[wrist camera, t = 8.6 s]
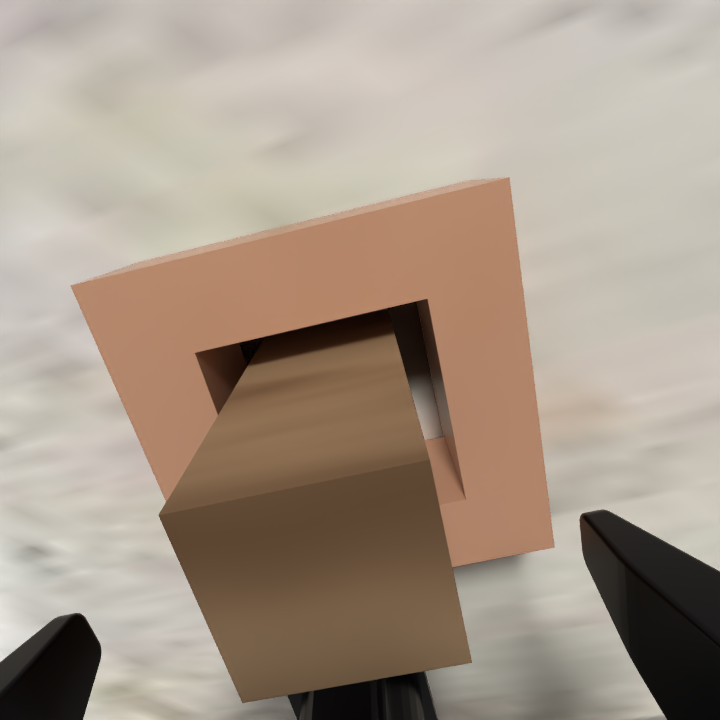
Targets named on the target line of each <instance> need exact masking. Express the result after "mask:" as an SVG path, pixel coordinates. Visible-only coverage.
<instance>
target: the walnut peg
mask: <svg viewBox="0 0 720 720" xmlns="http://www.w3.org/2000/svg"><path fill="white" fill-rule="evenodd" d="M159 517H160V520H161V522H162V524H163V526H164V529H165V531H166V533H167V535H168V537H169V540H170V542H171V544H172V546H173V549H174V551H175V553H176V555H177V558H178V560H179V562H180V564H181V567H182V569H183V571H184V573H185V575H186V578H187V580H188V582H189V584H190V587H191V589H192V591H193V593H194V596H195V598H196V600H197V602H198V605H199V607H200V609H201V611H202V613H203V616H204V618H205V620H206V622H207V625H208V627H209V629H210V631H211V634H212V636H213V638H214V640H215V643H216V645H217V647H218V649H219V652H220V654H221V656H222V658H223V660H224V663H225V665H226V667H227V669H228V672H229V674H230V676H231V678H232V681H233V683H234V685H235V687H236V690H237V692H238V694H239V696H240V698H241V701H242V703H246V702H251V701H257V700H263V699H268V698H274V697H280V696H285V695H291V694H297V693H302V692H308V691H314V690H319V689H325V688H331V687H336V686H342V685H348V684H353V683H359V682H365V681H370V680H376V679H382V678H387V677H393V676H399V675H404V674H410V673H416V672H421V671H427V670H433V669H438V668H444V667H450V666H455V665H461V664H467V663H472V660H471V655H470V651H469V646H468V641H467V636H466V631H465V627H464V622H463V617H462V612H461V607H460V602H459V598H458V593H457V588H456V583H455V578H454V573H453V569H452V564H451V559H450V554H449V549H448V545H447V540H446V535H445V530H444V525H443V520H442V516H441V511H440V506H439V501H438V496H437V491H436V487H435V482H434V477H433V472H432V467H431V463H430V458H429V455H428V451H427V447H426V444H425V440H424V437H423V433H422V430H421V426H420V423H419V419H418V415H417V412H416V408H415V405H414V401H413V398H412V394H411V390H410V387H409V383H408V380H407V376H406V373H405V369H404V365H403V362H402V358H401V355H400V351H399V348H398V344H397V341H396V337H395V333H394V330H393V326H392V323H391V319H390V316H389V312H388V309H386V310H381V311H377V312H372V313H368V314H363V315H359V316H355V317H350V318H346V319H341V320H337V321H333V322H328V323H324V324H319V325H315V326H311V327H306V328H302V329H297V330H293V331H288V332H284V333H280V334H275V335H271V336H266V337H265V338H264V339H263V341H262V343H261V344H260V346H259V348H258V349H257V351H256V353H255V354H254V356H253V358H252V359H251V361H250V363H249V365H248V366H247V368H246V370H245V371H244V373H243V375H242V376H241V378H240V380H239V381H238V383H237V385H236V386H235V388H234V390H233V391H232V393H231V395H230V396H229V398H228V400H227V401H226V403H225V405H224V406H223V408H222V410H221V411H220V413H219V415H218V416H217V418H216V420H215V421H214V423H213V425H212V426H211V428H210V430H209V431H208V433H207V435H206V437H205V438H204V440H203V442H202V443H201V445H200V447H199V448H198V450H197V452H196V453H195V455H194V457H193V458H192V460H191V462H190V463H189V465H188V467H187V468H186V470H185V472H184V473H183V475H182V477H181V478H180V480H179V482H178V483H177V485H176V487H175V488H174V490H173V492H172V493H171V495H170V497H169V498H168V500H167V502H166V503H165V505H164V507H163V509H162V510H161V512H160V514H159Z"/></svg>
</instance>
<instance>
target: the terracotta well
mask: <svg viewBox="0 0 720 720" xmlns="http://www.w3.org/2000/svg"><path fill="white" fill-rule="evenodd" d="M71 288H72V290H73V292H74V295H75V297H76V299H77V301H78V304H79V306H80V308H81V310H82V313H83V315H84V317H85V319H86V322H87V324H88V326H89V328H90V331H91V333H92V335H93V337H94V340H95V342H96V344H97V346H98V349H99V351H100V353H101V356H102V358H103V360H104V362H105V365H106V367H107V369H108V371H109V374H110V376H111V378H112V380H113V383H114V385H115V387H116V389H117V392H118V394H119V396H120V398H121V401H122V403H123V405H124V407H125V410H126V412H127V414H128V416H129V419H130V421H131V423H132V425H133V428H134V430H135V432H136V435H137V437H138V439H139V441H140V444H141V446H142V448H143V450H144V453H145V455H146V457H147V459H148V462H149V464H150V466H151V468H152V471H153V473H154V475H155V477H156V480H157V482H158V484H159V486H160V489H161V491H162V493H163V495H164V498H165V500H166V502H167V500H168V498H169V497H170V495H171V493H172V492H173V490H174V488H175V487H176V485H177V483H178V482H179V480H180V478H181V477H182V475H183V473H184V472H185V470H186V468H187V467H188V465H189V463H190V462H191V460H192V458H193V457H194V455H195V453H196V452H197V450H198V448H199V447H200V445H201V443H202V442H203V440H204V438H205V437H206V435H207V433H208V431H209V430H210V428H211V426H212V425H213V423H214V421H215V420H216V418H217V416H218V415H219V413H220V411H221V410H222V408H223V406H224V405H225V403H226V401H227V400H228V398H229V396H230V395H231V393H232V391H233V390H234V388H235V386H236V385H237V383H238V381H239V380H240V378H241V376H242V375H243V373H244V371H245V370H246V368H247V365H246V362H245V359H244V356H243V353H242V350H241V347H240V344H239V342H243V341H248V340H252V339H256V338H261V337H265V336H269V335H273V334H278V333H282V332H286V331H291V330H295V329H299V328H303V327H308V326H312V325H316V324H321V323H325V322H329V321H334V320H338V319H342V318H346V317H351V316H355V315H359V314H364V313H368V312H372V311H377V310H381V309H385V308H389V307H394V306H398V305H402V304H407V303H411V302H415V301H416V302H417V307H418V312H419V317H420V322H421V327H422V332H423V337H424V342H425V347H426V352H427V357H428V362H429V367H430V372H431V377H432V382H433V387H434V392H435V397H436V402H437V407H438V412H439V417H440V422H441V427H442V432H443V437H440V438H435V439H430V440H426V441H425V444H426V447H427V451H428V455H429V458H430V463H431V467H432V472H433V477H434V482H435V487H436V491H437V496H438V501H439V506H440V511H441V516H442V520H443V525H444V530H445V535H446V540H447V545H448V549H449V554H450V559H451V564H452V567H456V566H461V565H466V564H471V563H477V562H482V561H487V560H492V559H497V558H502V557H507V556H513V555H518V554H523V553H528V552H533V551H538V550H544V549H549V548H554V539H553V531H552V523H551V515H550V507H549V498H548V490H547V482H546V474H545V466H544V458H543V449H542V441H541V433H540V425H539V417H538V408H537V400H536V392H535V384H534V376H533V368H532V359H531V351H530V343H529V335H528V327H527V318H526V310H525V302H524V294H523V286H522V278H521V269H520V261H519V253H518V245H517V237H516V228H515V220H514V212H513V204H512V196H511V188H510V179H509V177H508V178H493V179H479V180H470V181H466V182H462V183H458V184H454V185H449V186H445V187H441V188H437V189H433V190H429V191H425V192H421V193H417V194H413V195H409V196H405V197H401V198H397V199H393V200H389V201H385V202H381V203H377V204H373V205H369V206H365V207H361V208H357V209H353V210H349V211H345V212H341V213H337V214H332V215H328V216H324V217H320V218H316V219H312V220H308V221H304V222H300V223H296V224H292V225H288V226H284V227H280V228H276V229H272V230H268V231H264V232H260V233H256V234H252V235H248V236H244V237H240V238H236V239H232V240H228V241H224V242H219V243H215V244H211V245H207V246H203V247H199V248H195V249H191V250H187V251H183V252H179V253H175V254H171V255H167V256H163V257H159V258H155V259H151V260H147V261H143V262H139V263H135V264H132V265H129V266H126V267H123V268H121V269H118V270H115V271H112V272H109V273H106V274H103V275H100V276H97V277H94V278H92V279H89V280H86V281H83V282H80V283H77V284H74V285H71Z"/></svg>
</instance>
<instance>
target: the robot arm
mask: <svg viewBox="0 0 720 720" xmlns="http://www.w3.org/2000/svg"><path fill="white" fill-rule="evenodd" d="M580 530H581V541H582V551H583V556H584V560H585V563H586V565H587V568H588V570H589V572H590V574H591V576H592V578H593V580H594V582H595V584H596V587H597V589H598V591H599V593H600V595H601V597H602V599H603V601H604V604H605V606H606V608H607V610H608V612H609V614H610V616H611V618H612V620H613V623H614V625H615V627H616V629H617V631H618V633H619V635H620V637H621V640H622V642H623V644H624V646H625V648H626V650H627V652H628V654H629V656H630V658H631V659H632V661H633V663H634V665H635V666H636V668H637V670H638V672H639V674H640V675H641V677H642V679H643V680H644V682H645V684H646V685H647V687H648V689H649V690H650V692H651V694H652V695H653V697H654V698H655V700H656V702H657V703H658V705H659V707H660V708H661V710H662V712H663V713H664V715H665V717H666V718H667V720H720V571H718V570H716V569H715V568H713V567H711V566H709V565H707V564H705V563H703V562H702V561H700V560H698V559H696V558H694V557H692V556H691V555H689V554H687V553H685V552H683V551H681V550H680V549H678V548H676V547H674V546H672V545H670V544H668V543H667V542H665V541H663V540H661V539H659V538H657V537H656V536H654V535H652V534H650V533H648V532H646V531H645V530H643V529H641V528H639V527H637V526H635V525H633V524H632V523H630V522H628V521H626V520H624V519H622V518H621V517H619V516H617V515H615V514H613V513H611V512H610V511H607V510H597V511H592V512H587V513H583V514H582V515H581V516H580ZM100 659H101V645H100V643H99V641H98V639H97V637H96V635H95V634H94V632H93V630H92V628H91V627H90V625H89V623H88V621H87V620H86V618H85V617H84V616H83V615H82V614H80V613H74V614H69V615H64V616H59V617H57V618H55V619H53V620H52V621H51V622H49V623H48V624H47V625H46V626H45V627H43V628H42V629H41V630H40V631H38V632H37V633H36V634H35V635H33V636H32V637H31V638H30V639H28V640H27V641H26V642H25V643H24V644H22V645H21V646H20V647H19V648H17V649H16V650H15V651H14V652H12V653H11V654H10V655H9V656H7V657H6V658H5V659H4V660H3V661H1V662H0V720H83V717H84V714H85V711H86V707H87V704H88V700H89V697H90V694H91V690H92V687H93V683H94V680H95V677H96V673H97V670H98V666H99V663H100ZM288 698H289V700H290V703H291V705H292V708H293V710H294V713H295V715H296V717H297V720H438V718H437V714H436V711H435V707H434V703H433V699H432V695H431V692H430V688H429V684H428V680H427V677H426V673H425V671H421V672H416V673H410V674H404V675H399V676H393V677H387V678H382V679H376V680H370V681H365V682H359V683H353V684H348V685H342V686H336V687H331V688H325V689H319V690H314V691H308V692H302V693H297V694H291V695H288Z"/></svg>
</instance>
